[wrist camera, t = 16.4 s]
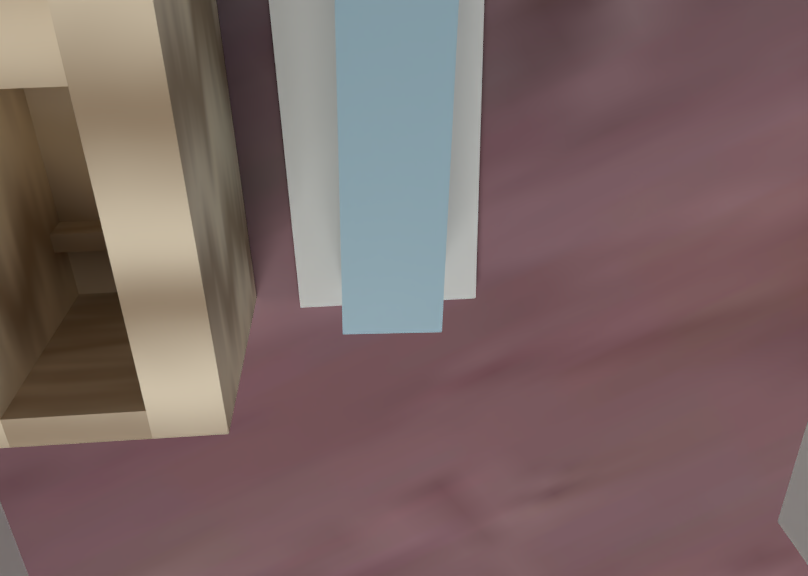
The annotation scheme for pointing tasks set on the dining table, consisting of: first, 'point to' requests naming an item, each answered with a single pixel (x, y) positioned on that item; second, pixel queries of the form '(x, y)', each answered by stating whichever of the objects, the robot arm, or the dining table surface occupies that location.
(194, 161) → the jig
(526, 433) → the dining table surface
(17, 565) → the robot arm
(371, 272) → the bar
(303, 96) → the mat
